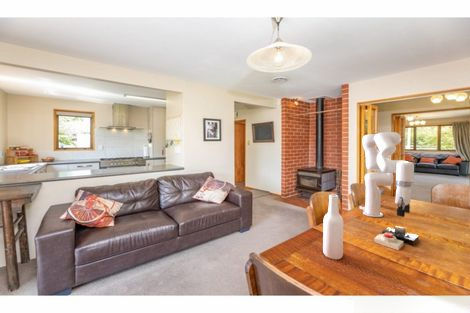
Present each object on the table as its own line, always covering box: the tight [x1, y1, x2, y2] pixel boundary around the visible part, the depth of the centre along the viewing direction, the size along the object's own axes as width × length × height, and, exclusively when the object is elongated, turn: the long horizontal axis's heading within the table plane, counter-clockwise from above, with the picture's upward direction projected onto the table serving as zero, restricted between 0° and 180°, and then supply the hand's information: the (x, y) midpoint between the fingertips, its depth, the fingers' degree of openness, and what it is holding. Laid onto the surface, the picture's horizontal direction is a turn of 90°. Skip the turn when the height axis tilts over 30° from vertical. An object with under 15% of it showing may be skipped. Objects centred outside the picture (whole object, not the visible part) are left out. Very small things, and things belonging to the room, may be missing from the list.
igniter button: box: [384, 233, 393, 238], centre depth 110 cm, size 4×4×2 cm
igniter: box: [373, 233, 404, 251], centre depth 110 cm, size 11×8×4 cm
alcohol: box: [322, 193, 345, 260], centre depth 99 cm, size 9×9×30 cm
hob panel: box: [381, 226, 419, 247], centre depth 115 cm, size 14×10×3 cm
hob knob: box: [394, 225, 407, 235], centre depth 115 cm, size 5×1×4 cm, turn 37°
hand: (403, 214), depth 114 cm, fingers open, 9 cm apart
